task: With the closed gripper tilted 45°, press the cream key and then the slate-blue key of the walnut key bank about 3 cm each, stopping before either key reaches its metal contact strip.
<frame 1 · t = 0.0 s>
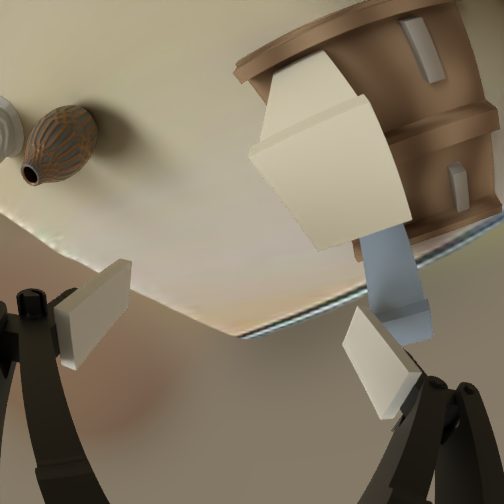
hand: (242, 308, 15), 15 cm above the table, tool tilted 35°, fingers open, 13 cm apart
key bank: (399, 128, 21), on the table
slate-blue key: (391, 263, 22), point 8 cm above the table, slide at 0.0 cm
cream key: (324, 119, 14), point 8 cm above the table, slide at 0.0 cm
vase: (81, 124, 23), on the table
french press: (2, 132, 23), on the table
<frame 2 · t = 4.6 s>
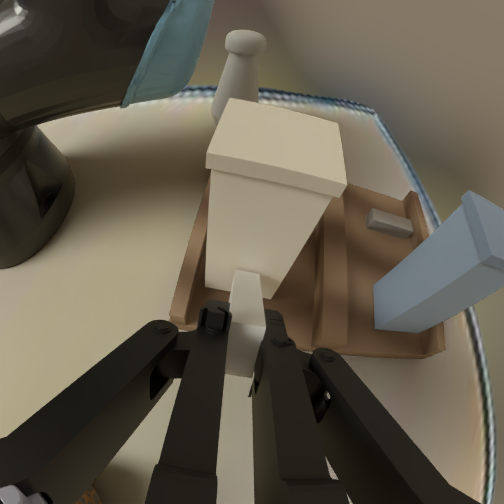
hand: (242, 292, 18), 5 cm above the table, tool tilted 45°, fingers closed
key bank: (320, 255, 26), on the table
slate-blue key: (443, 279, 17), point 8 cm above the table, slide at 0.0 cm
cream key: (256, 221, 17), point 8 cm above the table, slide at 1.2 cm, touching gripper
vase: (74, 493, 12), on the table
salt shaker: (232, 125, 34), on the table
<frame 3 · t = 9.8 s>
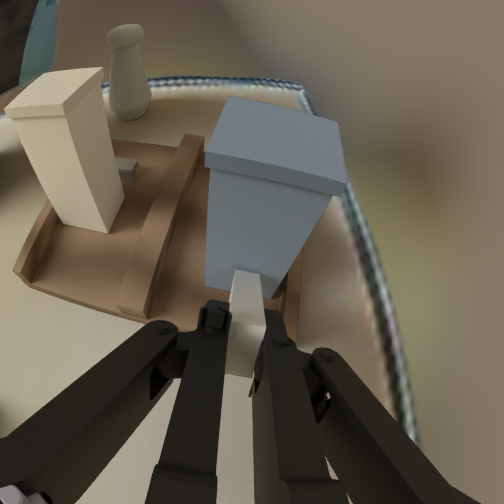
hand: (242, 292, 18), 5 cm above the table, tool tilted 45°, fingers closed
key bank: (168, 226, 25), on the table
slate-blue key: (255, 220, 17), point 8 cm above the table, slide at 1.4 cm, touching gripper
cream key: (72, 158, 17), point 8 cm above the table, slide at 4.1 cm
salt shaker: (131, 113, 33), on the table
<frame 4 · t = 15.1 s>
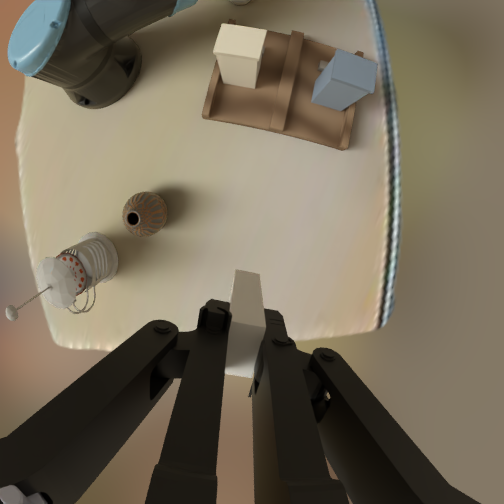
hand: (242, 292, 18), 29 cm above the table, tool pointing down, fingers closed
key bank: (285, 82, 40), on the table
slate-blue key: (340, 84, 33), point 8 cm above the table, slide at 4.1 cm
cream key: (241, 59, 32), point 8 cm above the table, slide at 4.1 cm
vase: (152, 211, 46), on the table
french press: (97, 262, 48), on the table
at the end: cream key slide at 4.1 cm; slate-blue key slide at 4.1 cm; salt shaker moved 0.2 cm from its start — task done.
